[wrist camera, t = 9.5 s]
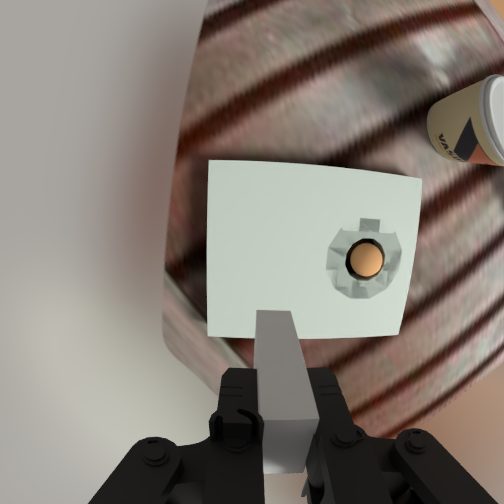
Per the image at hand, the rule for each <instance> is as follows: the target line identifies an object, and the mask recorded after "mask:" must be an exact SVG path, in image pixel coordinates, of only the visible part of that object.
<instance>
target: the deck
mask: <svg viewBox="0 0 504 504" xmlns="http://www.w3.org/2000/svg"><path fill="white" fill-rule="evenodd" d="M421 190H422V179H419V178H414V177H408V176H401V175H395V174H388V173H381V172H374V171H366V170H358V169H350V168H341V167H331V166H321V165H309V164H296V163H282V162H263V161H237V160H209V170H208V204H207V323H208V336H216V337H237V338H255V329H256V310H281V311H291V314H292V318H293V321H294V325H295V328H296V332H297V336H298V339H316V338H351V337H371V336H387V335H398V333H399V329H400V325H401V321H402V317H403V312H404V308H405V303H406V299H407V294H408V289H409V284H410V278H411V273H412V267H413V261H414V255H415V248H416V240H417V233H418V224H419V214H420V204H421ZM362 238H371V239H372V240H373V242H374V245H375V246H376V247H377V248H378V249H379V250H380V252H381V254H382V265H381V268H380V269H379V271H378V272H377V273H375V274H374V275H371V276H361V275H359V274H350V273H349V272H348V271H347V269H346V266H345V261H346V253H347V252H348V250H349V249H350V247H351V246H352V244H353V243H355V242H357V241H358V240H360V239H362Z"/></svg>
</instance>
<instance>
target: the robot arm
mask: <svg viewBox="0 0 504 504" xmlns="http://www.w3.org/2000/svg"><path fill="white" fill-rule="evenodd" d="M209 430H210V436H209V437H208V438H207V439H205V440H204V441H202V442H199V443H196V444H191V445H184V446H176V444H175V443H174V442H172V441H170V440H168V439H166V438H161V437H148V438H145V439H142V440H139V441H138V442H137V443H136V444H135V445H133V446H132V448H131V449H130V450H129V452H128V453H127V454H126V455H125V457H124V458H123V459H122V461H121V462H120V463H119V465H118V466H117V467H116V469H115V470H114V471H113V472H112V474H111V475H110V476H109V477H108V479H107V480H106V481H105V483H104V484H103V485H102V486H101V488H100V489H99V490H98V491H97V493H96V494H95V495H94V496H93V498H92V499H91V501H90V502H89V503H88V504H265V498H264V474H285V473H303V472H304V469H305V466H306V468H307V474H308V477H307V479H306V482H305V485H304V488H303V490H302V495H301V497H305V495H307V502H308V504H498V503H497V502H496V501H495V500H494V499H493V498H492V497H491V496H490V495H489V494H488V493H487V492H486V490H485V489H484V488H483V487H482V486H481V485H480V484H479V483H478V482H477V481H476V480H475V479H474V478H473V477H472V476H471V475H470V474H469V473H468V472H467V471H466V470H465V469H464V468H463V467H462V466H461V465H460V463H459V462H458V461H457V460H456V459H455V458H454V457H453V456H452V455H451V454H450V453H449V452H448V451H447V450H446V449H445V448H444V447H443V446H442V445H441V444H440V443H439V442H438V441H437V440H436V439H435V438H434V437H433V436H432V435H431V434H430V433H428V432H427V431H424V430H422V429H415V428H411V429H407V430H404V431H402V432H401V433H400V434H398V436H397V438H396V439H384V438H375V437H370V436H368V435H367V434H366V433H365V431H364V430H363V429H362V428H360V427H359V426H357V425H354V423H353V420H352V418H351V415H350V412H349V410H348V407H347V404H346V402H345V399H344V396H343V395H342V391H341V389H340V387H339V383H338V381H337V378H336V376H335V375H334V374H333V373H332V372H331V371H330V370H329V369H328V368H327V367H320V368H306V365H305V361H304V358H303V354H302V350H301V347H300V343H299V339H298V336H297V332H296V328H295V325H294V321H293V318H292V314H291V311H281V310H256V329H255V348H254V369H249V368H228V369H227V371H226V372H225V373H224V374H223V375H222V379H221V386H220V393H219V400H218V408H217V411H216V412H214V413H213V414H212V415H211V418H210V420H209Z"/></svg>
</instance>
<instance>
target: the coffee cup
mask: <svg viewBox="0 0 504 504" xmlns="http://www.w3.org/2000/svg"><path fill="white" fill-rule="evenodd" d="M427 131H428V135H429V138H430V140H431V142H432V144H433V146H434V147H435V149H436V150H437V151H438V153H439V154H441V155H442V156H443V157H445V158H447V159H449V160H452V161H459V162H469V163H479V164H488V165H496V166H504V76H502V75H491V76H489V77H487V78H486V79H485V80H482V81H480V82H478V83H475V84H473V85H471V86H469V87H467V88H464V89H462V90H460V91H458V92H456V93H454V94H452V95H450V96H448V97H446V98H444V99H442V100H440V101H438V102H436V103H435V104H434V105H433V106H432V107H431V108H430V110H429V112H428V116H427Z"/></svg>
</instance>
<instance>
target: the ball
mask: <svg viewBox="0 0 504 504" xmlns="http://www.w3.org/2000/svg"><path fill="white" fill-rule="evenodd" d="M350 262H351V266H352V268H353V270H354V271H355V272H356V273H357V274H359V275H361V276H371V275H374V274H375V273H377V272H378V271H379V269H380V268H381V265H382V254H381V252H380V250H379V249H378V248H377V247H376V246H375V245H373V244H370V243H363V244H360V245H358V246H357V247H356V248H355V249H354V250H353V251H352V254H351V258H350Z"/></svg>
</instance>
